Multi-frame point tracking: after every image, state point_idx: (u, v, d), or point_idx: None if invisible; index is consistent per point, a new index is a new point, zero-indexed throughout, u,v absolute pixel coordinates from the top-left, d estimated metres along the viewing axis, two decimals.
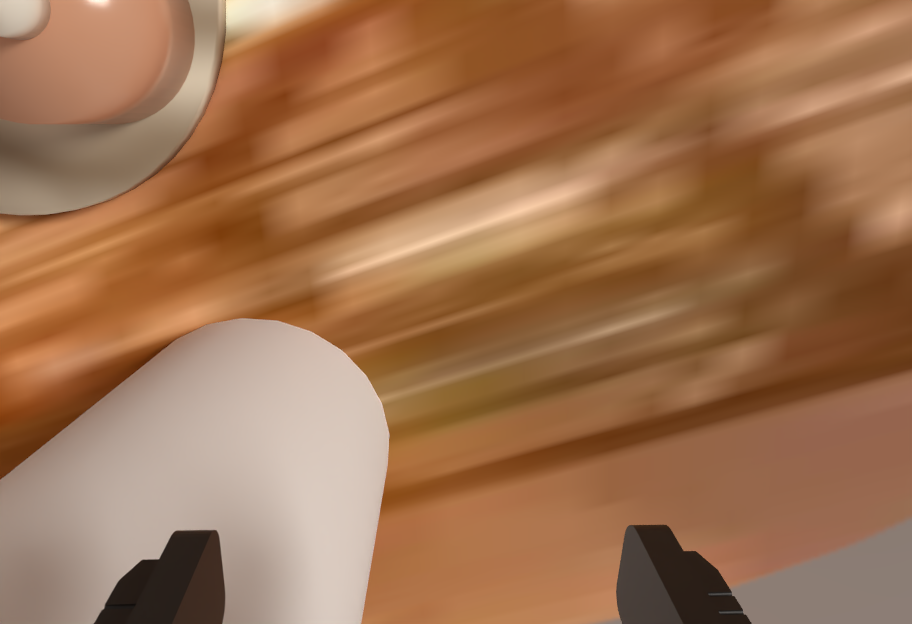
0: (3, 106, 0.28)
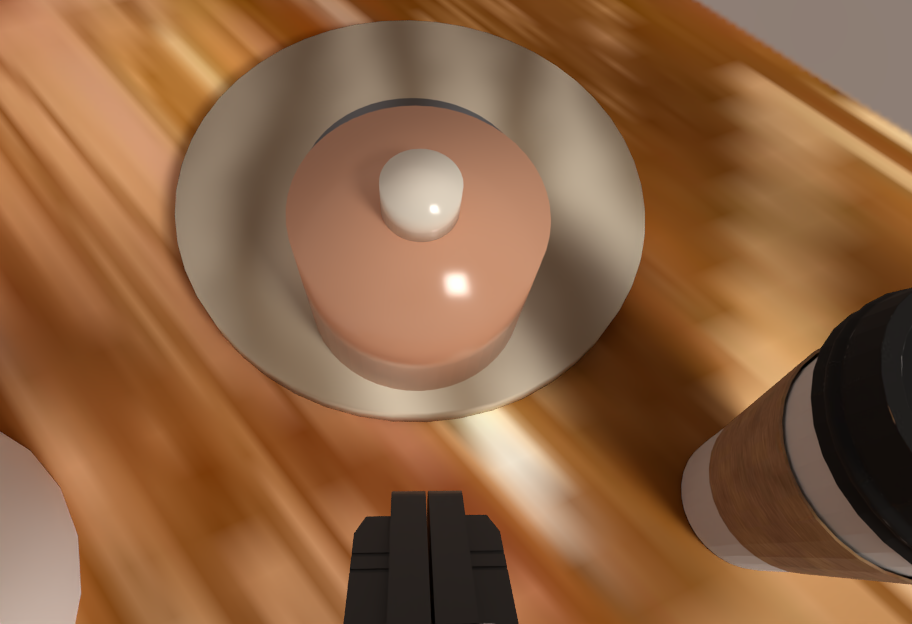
0: (301, 209, 0.24)
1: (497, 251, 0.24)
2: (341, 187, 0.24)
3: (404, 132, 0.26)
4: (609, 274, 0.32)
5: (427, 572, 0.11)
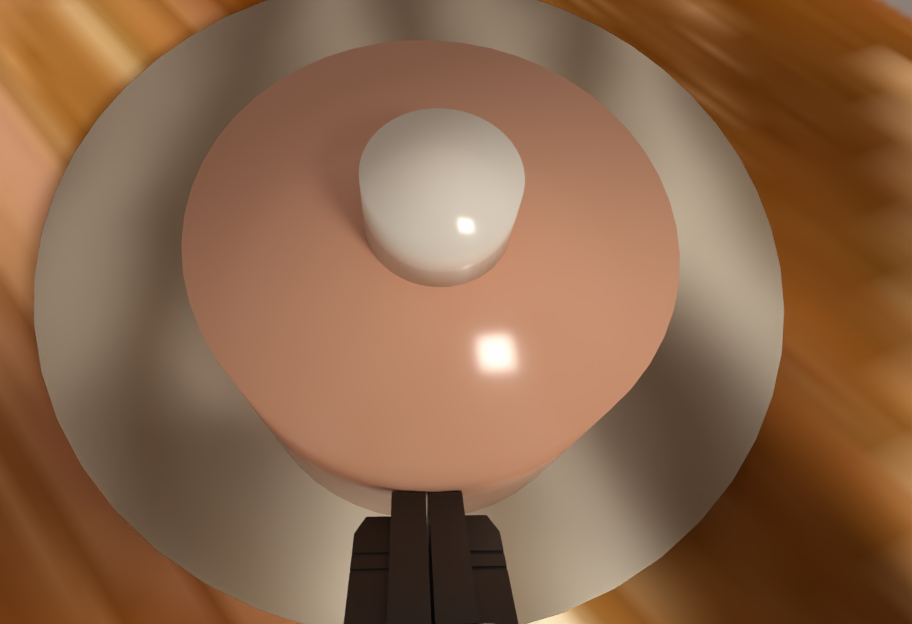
0: (213, 217, 0.13)
1: (581, 310, 0.12)
2: (294, 176, 0.13)
3: (413, 85, 0.14)
4: (734, 377, 0.20)
5: (427, 572, 0.11)
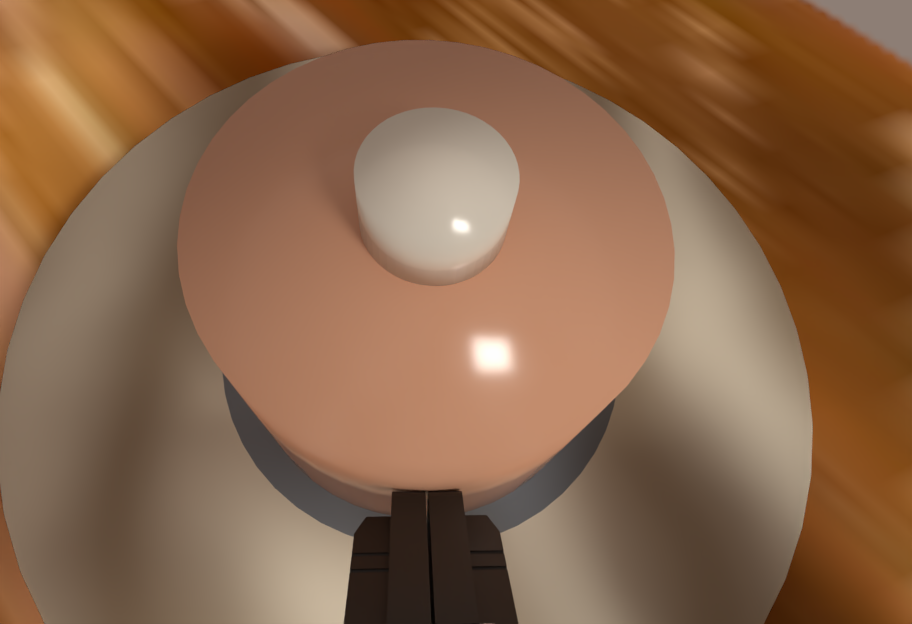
0: (209, 217, 0.13)
1: (577, 308, 0.12)
2: (289, 177, 0.13)
3: (409, 85, 0.14)
4: (761, 505, 0.18)
5: (427, 572, 0.11)
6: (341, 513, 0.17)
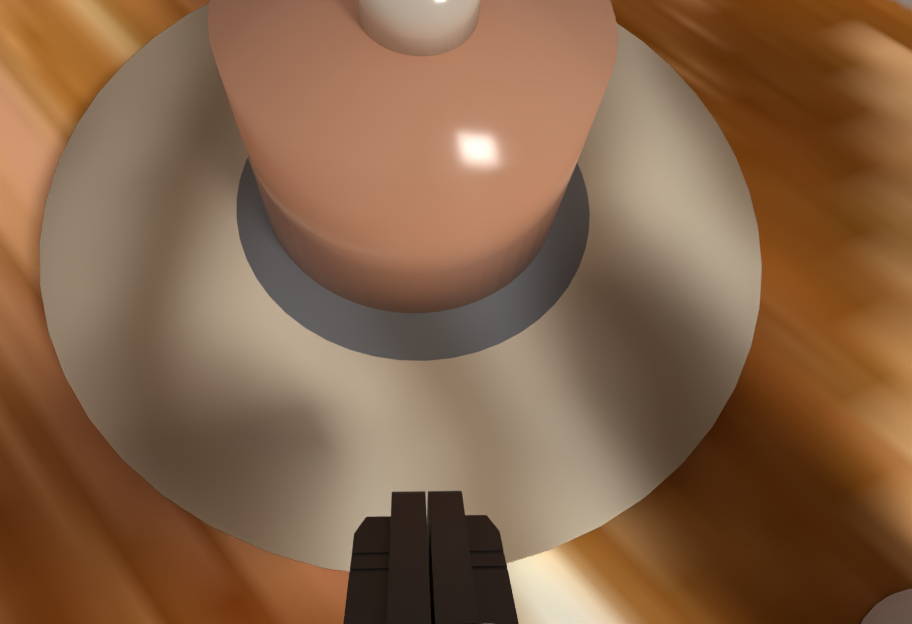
0: (233, 4, 0.15)
1: (536, 73, 0.15)
2: None
3: None
4: (714, 329, 0.20)
5: (427, 572, 0.11)
6: (344, 332, 0.19)
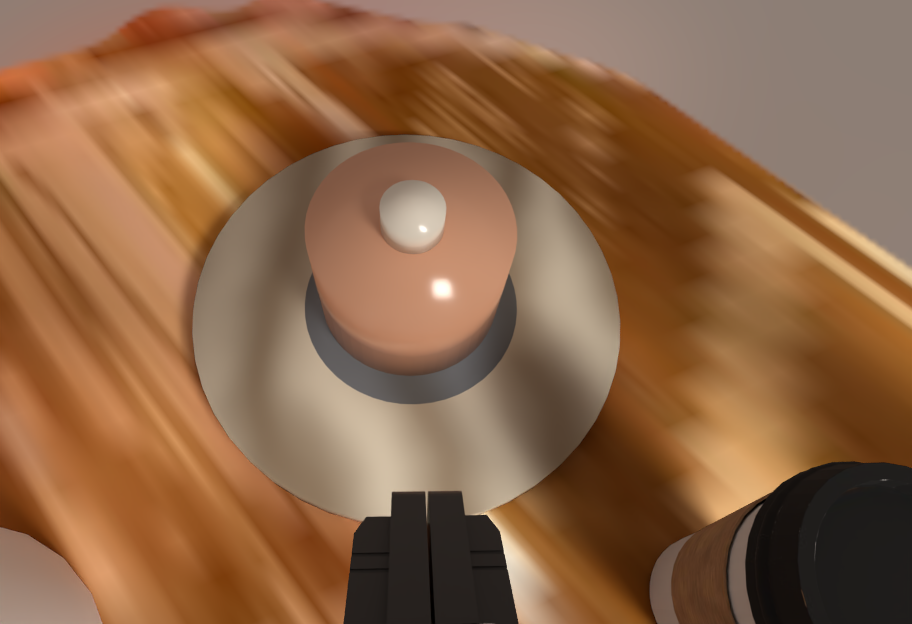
0: (317, 225, 0.30)
1: (472, 263, 0.29)
2: (349, 208, 0.30)
3: (402, 164, 0.31)
4: (586, 386, 0.35)
5: (427, 572, 0.11)
6: (369, 387, 0.34)
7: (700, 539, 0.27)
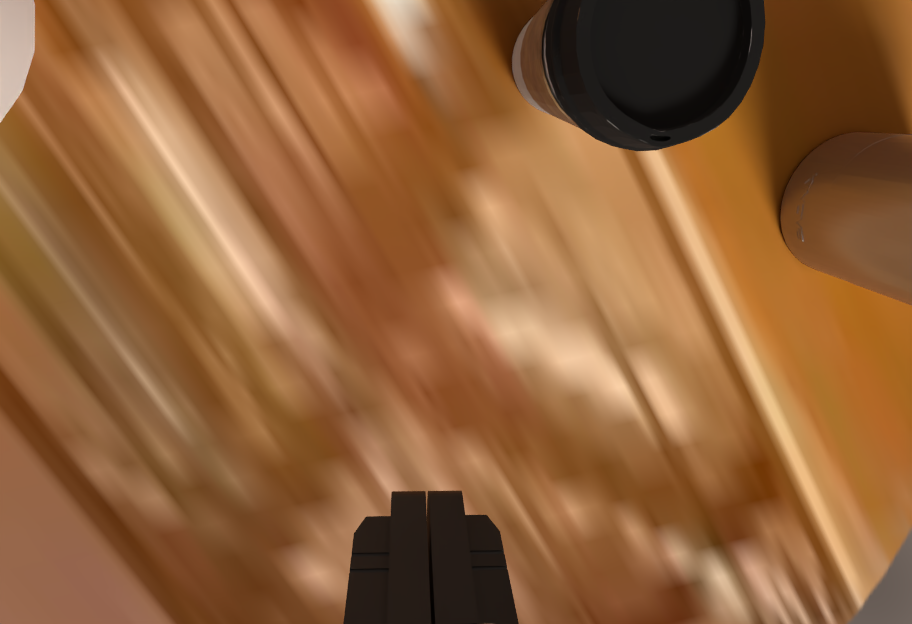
0: None
1: None
2: None
3: None
4: None
5: (427, 572, 0.11)
6: None
7: None
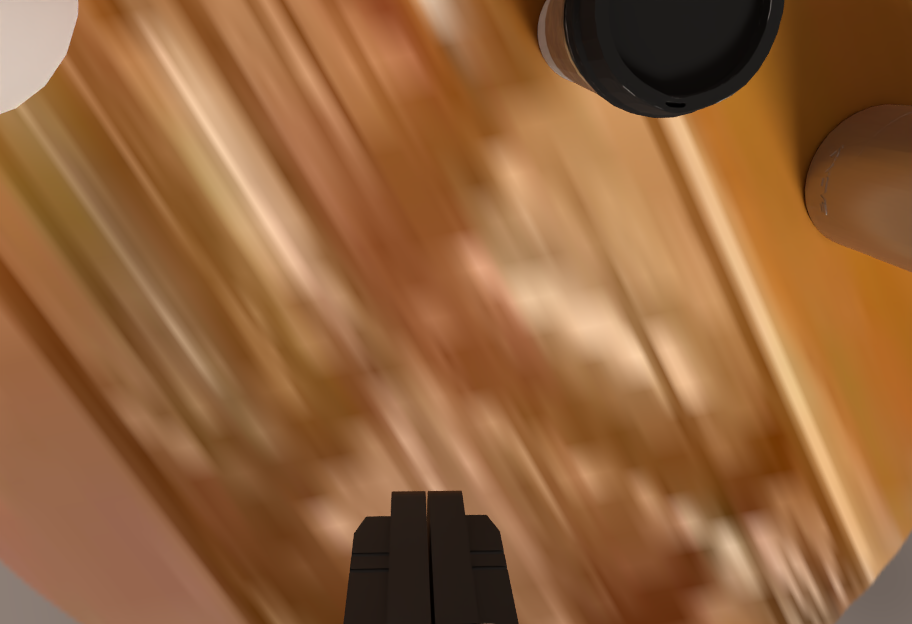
0: None
1: None
2: None
3: None
4: None
5: (427, 572, 0.11)
6: None
7: None
